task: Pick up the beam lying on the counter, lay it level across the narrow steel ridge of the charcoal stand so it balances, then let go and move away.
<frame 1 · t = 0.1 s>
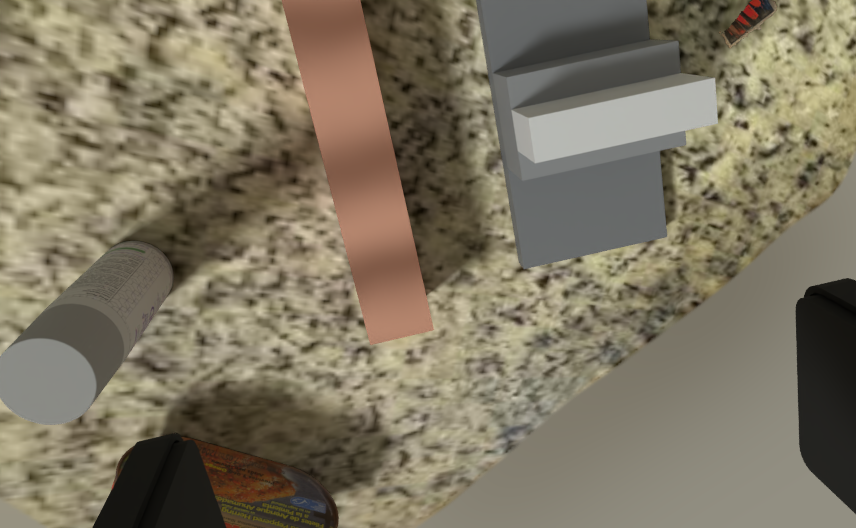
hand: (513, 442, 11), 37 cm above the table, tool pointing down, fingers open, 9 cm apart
ridge stand: (570, 102, 46), on the table
container: (137, 273, 47), on the table
matchbox: (729, 6, 46), on the table
beam: (359, 147, 46), on the table
tin: (236, 467, 52), on the table
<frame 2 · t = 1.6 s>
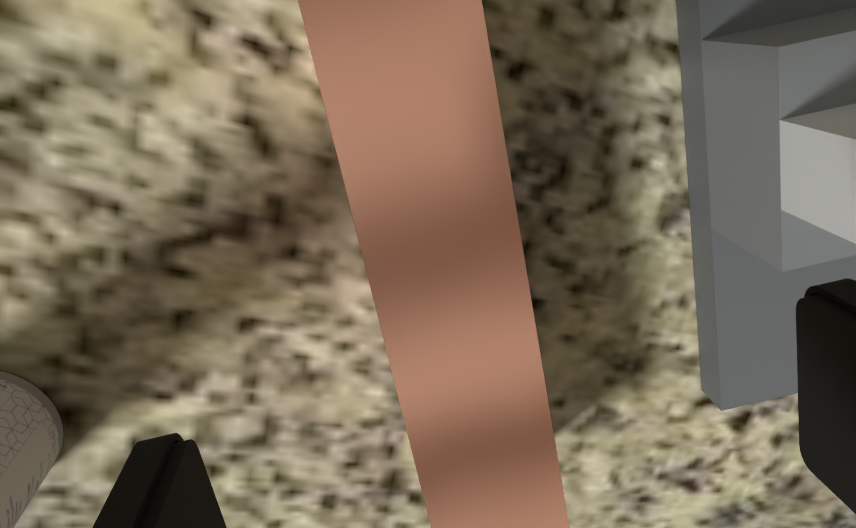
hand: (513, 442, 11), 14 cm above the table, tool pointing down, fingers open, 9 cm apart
ridge stand: (828, 100, 24), on the table
beam: (418, 187, 23), on the table
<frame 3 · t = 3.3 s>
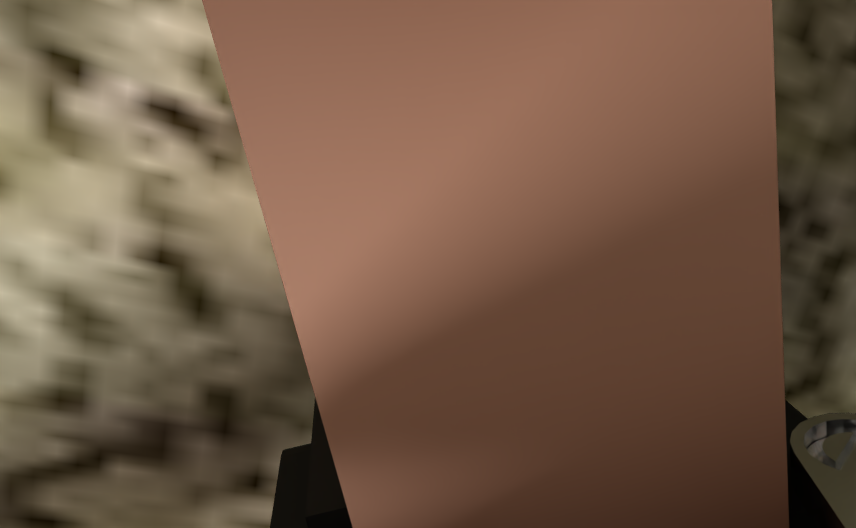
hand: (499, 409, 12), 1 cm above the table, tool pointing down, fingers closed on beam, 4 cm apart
beam: (487, 376, 13), on the table, touching gripper
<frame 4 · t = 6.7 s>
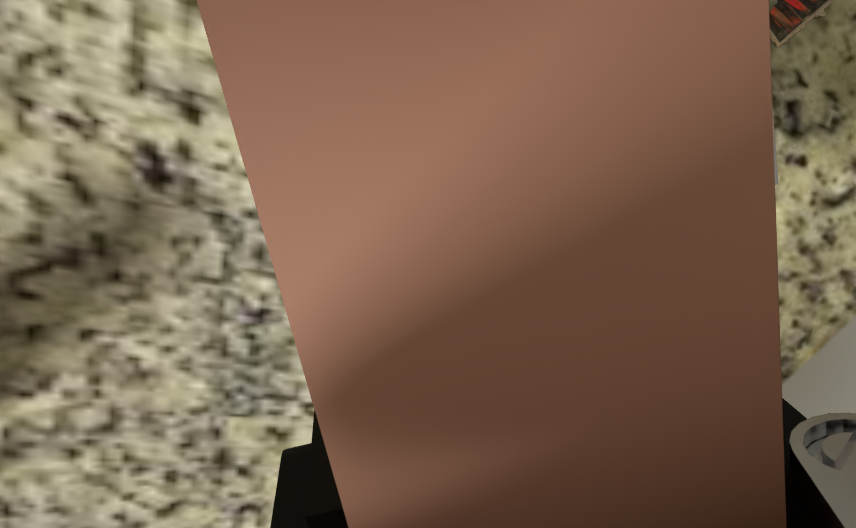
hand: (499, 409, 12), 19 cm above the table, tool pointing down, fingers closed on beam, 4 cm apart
beam: (485, 379, 13), point 18 cm above the table, touching gripper
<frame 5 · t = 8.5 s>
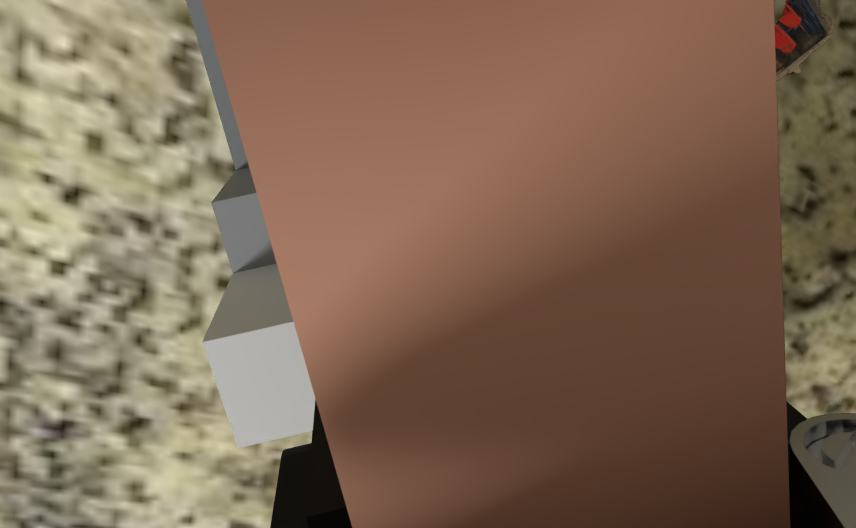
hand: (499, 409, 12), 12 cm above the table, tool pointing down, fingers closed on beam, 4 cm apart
ridge stand: (420, 217, 23), on the table
matchbox: (737, 27, 23), on the table
beam: (488, 380, 13), point 11 cm above the table, touching gripper
when the fingers open (11 cm above the table, at t = 9.9 s): beam stays where it is, resting on ridge stand.
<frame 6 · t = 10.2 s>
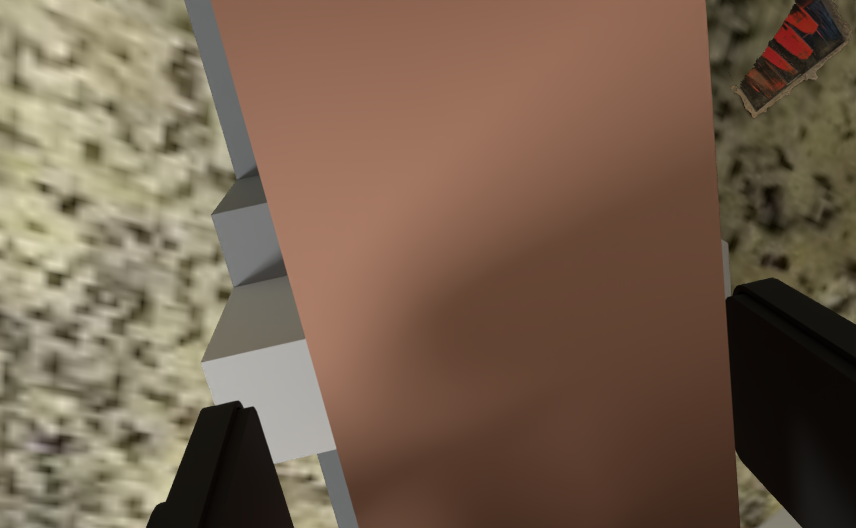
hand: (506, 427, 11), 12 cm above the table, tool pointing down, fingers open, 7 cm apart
ridge stand: (426, 228, 22), on the table
matchbox: (751, 33, 22), on the table
beam: (474, 357, 13), point 10 cm above the table, touching ridge stand
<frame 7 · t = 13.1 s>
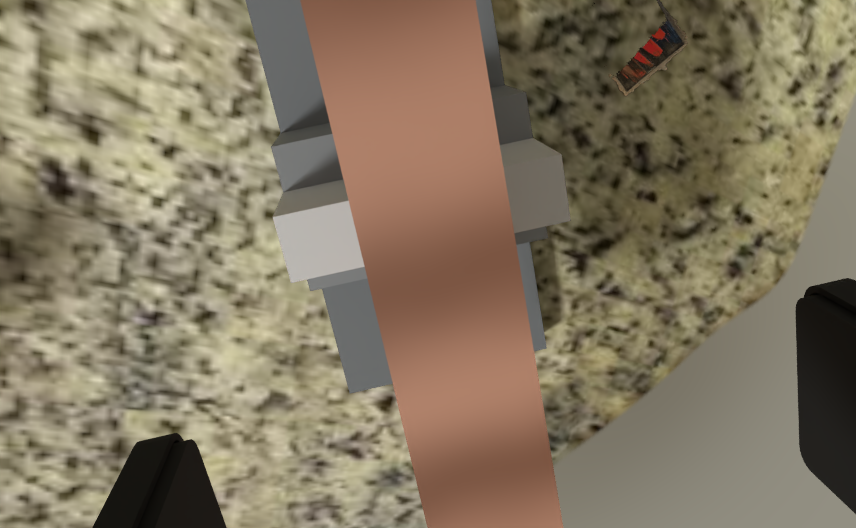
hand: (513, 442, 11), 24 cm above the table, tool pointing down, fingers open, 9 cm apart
ridge stand: (405, 169, 33), on the table
matchbox: (622, 39, 33), on the table
beam: (422, 217, 24), point 9 cm above the table, touching ridge stand
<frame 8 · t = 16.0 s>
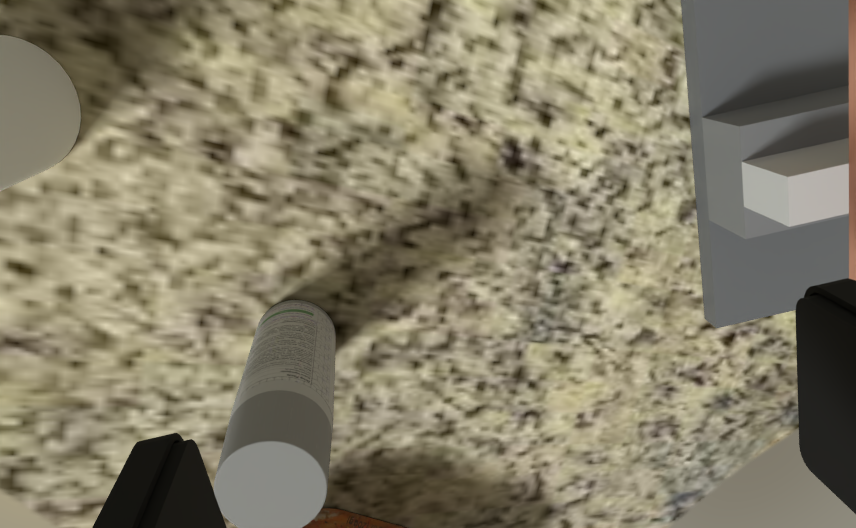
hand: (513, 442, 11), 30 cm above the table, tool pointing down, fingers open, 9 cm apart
cylindrical container: (9, 106, 37), on the table
ridge stand: (774, 147, 42), on the table
container: (296, 334, 43), on the table
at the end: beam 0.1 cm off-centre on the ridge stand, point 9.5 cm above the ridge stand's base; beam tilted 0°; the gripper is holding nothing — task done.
